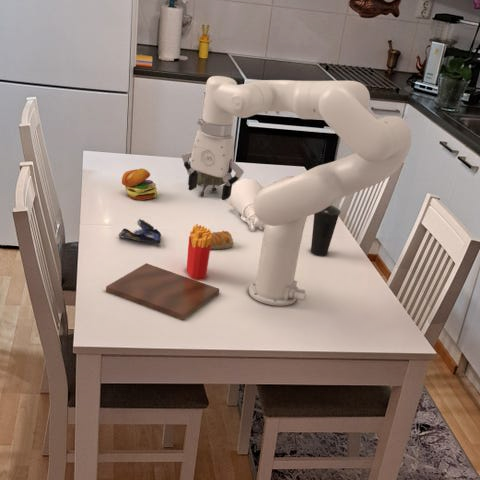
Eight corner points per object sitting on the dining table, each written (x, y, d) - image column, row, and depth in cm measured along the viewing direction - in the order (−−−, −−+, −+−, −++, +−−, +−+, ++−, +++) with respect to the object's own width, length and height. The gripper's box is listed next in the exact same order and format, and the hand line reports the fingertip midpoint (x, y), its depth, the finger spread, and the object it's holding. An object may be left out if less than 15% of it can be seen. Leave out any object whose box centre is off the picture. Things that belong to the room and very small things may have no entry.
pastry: (209, 252, 226) (210, 240, 224) (194, 243, 231) (196, 231, 229) (234, 247, 232) (236, 235, 230) (220, 238, 236) (222, 226, 235)
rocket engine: (266, 204, 239) (252, 172, 252) (233, 224, 241) (221, 191, 254) (284, 229, 246) (269, 196, 259) (252, 248, 249) (238, 215, 261)
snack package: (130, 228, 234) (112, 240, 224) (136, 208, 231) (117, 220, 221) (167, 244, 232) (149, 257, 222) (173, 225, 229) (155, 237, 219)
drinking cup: (336, 254, 237) (350, 190, 228) (321, 260, 232) (334, 194, 223) (316, 245, 242) (328, 182, 232) (300, 250, 236) (312, 186, 227)
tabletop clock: (193, 183, 276) (201, 111, 265) (219, 185, 278) (228, 113, 267) (196, 198, 264) (205, 123, 252) (223, 200, 265) (233, 125, 254)
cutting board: (218, 294, 204) (219, 288, 204) (183, 320, 189) (183, 314, 189) (145, 268, 212) (146, 263, 211) (105, 291, 197) (106, 286, 196)
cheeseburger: (156, 203, 254) (151, 173, 250) (123, 206, 255) (117, 176, 250) (159, 191, 263) (154, 162, 259) (127, 195, 264) (121, 166, 259)
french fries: (183, 267, 215) (188, 222, 209) (198, 266, 217) (203, 221, 211) (194, 282, 208) (200, 236, 202) (210, 281, 210) (215, 235, 204)
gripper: (178, 122, 198) (172, 188, 206) (240, 139, 192) (231, 206, 200) (194, 117, 204) (187, 181, 212) (254, 134, 198) (245, 199, 206)
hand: (208, 193), depth 206 cm, fingers open, 9 cm apart
